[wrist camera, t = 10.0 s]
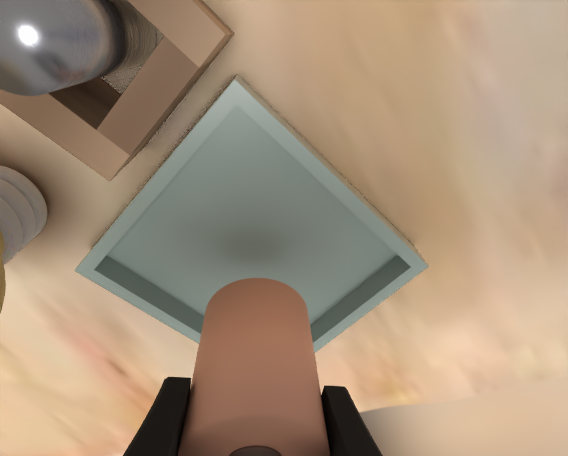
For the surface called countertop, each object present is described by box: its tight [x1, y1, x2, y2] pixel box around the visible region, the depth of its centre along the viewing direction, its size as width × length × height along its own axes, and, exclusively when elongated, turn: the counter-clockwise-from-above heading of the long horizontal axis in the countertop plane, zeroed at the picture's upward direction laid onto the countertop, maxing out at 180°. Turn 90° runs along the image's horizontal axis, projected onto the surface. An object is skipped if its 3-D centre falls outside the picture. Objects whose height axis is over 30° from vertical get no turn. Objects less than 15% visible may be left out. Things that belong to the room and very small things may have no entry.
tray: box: [75, 74, 428, 353], centre depth 18 cm, size 12×11×2 cm
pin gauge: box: [0, 0, 156, 96], centre depth 10 cm, size 2×2×7 cm
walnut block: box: [0, 0, 234, 181], centre depth 12 cm, size 6×6×4 cm
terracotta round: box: [178, 278, 330, 456], centre depth 11 cm, size 4×4×5 cm
